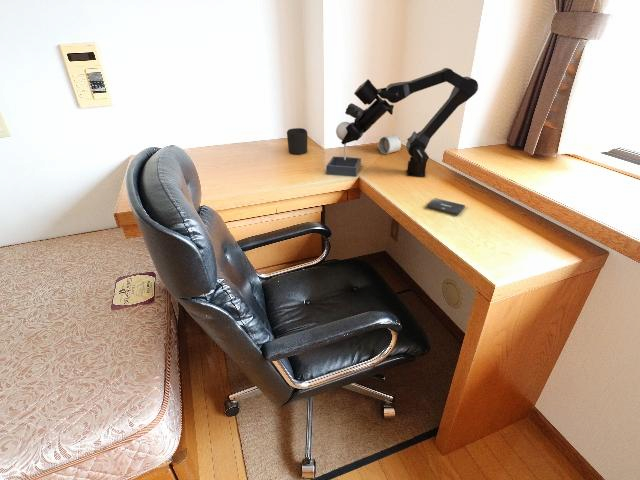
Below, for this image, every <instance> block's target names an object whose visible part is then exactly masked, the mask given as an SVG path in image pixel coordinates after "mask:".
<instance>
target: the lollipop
mask: <svg viewBox="0 0 640 480" xmlns="http://www.w3.org/2000/svg"><path fill="white" fill-rule="evenodd" d="M350 123H351V122H349V121H341V122H340V123H339V124H338V125H337V127H336V129H335V134H336V137H337V138H338V139H339V140H340V141H342V140H343V139H344V137H345V136H346V134H347V130H346V127H347V126H348V125H349V124H350ZM346 151H347V143H346V144H343V157H344V160H346V156H347V152H346Z"/></svg>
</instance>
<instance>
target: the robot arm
mask: <svg viewBox="0 0 640 480" xmlns="http://www.w3.org/2000/svg"><path fill="white" fill-rule="evenodd" d="M443 83H448V84H450V85H452V86H453V88H452V90H451V92H450V94H449V97H448V99H446V101H445V102H444V103H443V104H442V106H441V107H440V108H439V109H438V110H437V112H436V113H435V114H434V115H433V117H432V118H430V120H429V121H428V122H427V123H426V125H425V126H424V127H423V128H422V129H421V130H420V131H418V132H416V131H415V130H414V131H413V132H412V133H411V135H410V136H409V137H408V138H407V139H406V140H407V141H406V143H405V148H406V151H407V153H408V155H409V156H410V158H409V160H407V168H406V173H407V176H409V177H419V178H420V177H422V178H425V177H426V168H427V163H428V160H429V155H428V153H427V152H426V149H427V147H428V146H429V143H430V141H431V138H432V137H433V136H434V135H435V134H436V133H437V132H438V130H439V129H440V128H441V127H442V126H443V125H444V124H445V122H446V121H447V120H448V119H449V118H450V117H451V116H452V114H453V113H455V111H456V110H457V109H458V108H459V106H461V105H462V104H464V103H466V102H467V101H469V99H471V98H472V97H473V96H474V95H475V94H477V92H478V90H479V84H478V81H477V80H476V79H474V78H472V77H470V76H462V75H460V74H458V73H457V72H455V71H454V70H453V69H451V68H449V67H444V68H442V69H440V70H437V71H435V72H432V73H428V74H426V75H423V76H420V77H418V78H415V79H412V80H408V81H398V82H393V83H389V84H388V85H387V86H386V87H382V88H377V87H376V86H375V85H374V84H373V83H372V81H371V80H370V79H369V78H367V79H366V80H365V81H364V82H363V83H362V84H360V85H359V86H358V87H357V88H356V90H355V91H354V93H353V94H354V95H355V96H356V97H357V99H358V100H360V101H361V103H362V104H363V105H365V106H366V105H369V106H368V107H366V108H365V109H363V108H362V107H360V106H358V105H356V104H354V103H351V102H350V103H349V104H348V105H347V107H346V109H345V112H344V113H345V115H348V116H350V117H352V118H354V121H352V122H349V123H350V124H349V125H348V126H347V127H346V130H347V134H346V136H345V137H344V139H343V140H341V141H340V143H341V145H344V144H346V145H347V144H348V143H349V144H350V143H352V142H355V141H356V142H357V141H359V140H360V139H361V138H362V137H363V136H364V134H365V133H366V132H367V131H369V130H370V128H371V127H372V126H373V125H374V124H376V123H377V121H379V120H380V118H382V117H383V116H384V115H385V114H386V113H387V112H388V114H389V115H391V116H393V114H394V109H395V108H394V107H395V105H394V104H396V103H399V102H401V101H402V100H405V99H406V98H408V97H410V95H412V94H414V93H417V92H420V91H424V90H426V89H428V88H431V87H432V88H433V87H434V86H438V85H441V84H443ZM390 103H391V104H390Z"/></svg>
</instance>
